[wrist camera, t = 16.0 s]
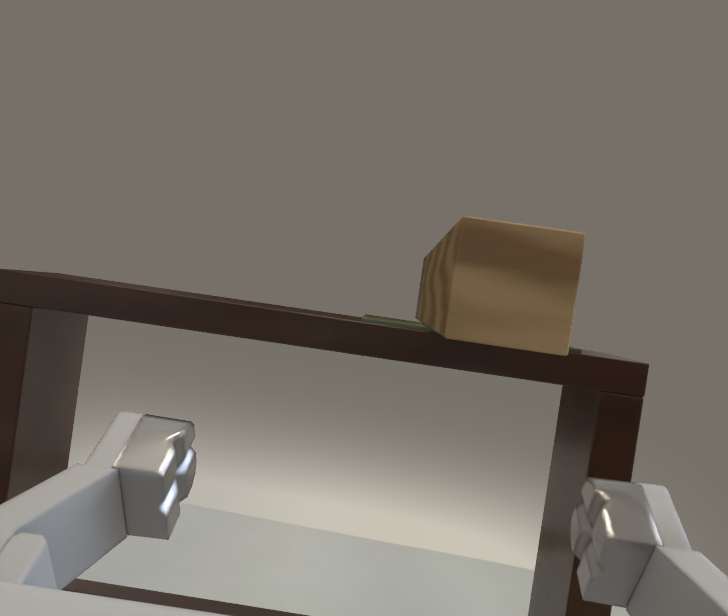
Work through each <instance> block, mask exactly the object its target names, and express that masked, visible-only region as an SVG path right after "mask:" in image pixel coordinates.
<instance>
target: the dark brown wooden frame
mask: <svg viewBox="0 0 728 616" xmlns="http://www.w3.org/2000/svg"><path fill="white" fill-rule="evenodd" d="M88 315H91V316H98V317H105V318H111V319H119V320H125V321H132V322H138V323H145V324H152V325H159V326H165V327H172V328H180V329H187V330H193V331H199V332H207V333H213V334H220V335H227V336H233V337H240V338H247V339H254V340H261V341H267V342H274V343H281V344H288V345H294V346H301V347H309V348H315V349H322V350H329V351H335V352H342V353H349V354H355V355H362V356H369V357H377V358H383V359H390V360H396V361H403V362H410V363H417V364H423V365H430V366H437V367H444V368H451V369H457V370H464V371H471V372H478V373H485V374H491V375H498V376H505V377H512V378H518V379H525V380H532V381H539V382H545V383H552V384H559V385H563V387H562V394H561V400H560V407H559V413H558V420H557V427H556V434H555V440H554V447H553V454H552V460H551V466H550V474H549V480H548V487H547V494H546V500H545V506H544V513H543V520H542V526H541V533H540V539H539V546H538V554H537V560H536V567H535V573H534V579H533V586H532V593H531V599H530V606H529V612H528V616H610V615H611V608H612V605H607V604H601V603H595V602H590V601H584V600H583V598H582V594H581V589H580V584H579V580H578V575H577V569H578V567H579V564H580V560H579V559H578V558H577V556H576V555H575V554H574V553H573V551H572V546H571V537H570V528H571V519H572V515H573V512H574V509H575V506H576V505H578V504H579V503H581V502H582V501H583V496H582V492H581V489H582V487H583V484H584V481H585V480H586V479H587V478H588V477H595V478H603V479H610V480H618V481H625V482H631V477H632V470H633V464H634V457H635V451H636V444H637V438H638V431H639V425H640V418H641V412H642V405H643V397H644V394H645V388H646V381H647V375H648V368H649V364H647V363H643V362H639V361H635V360H631V359H627V358H623V357H619V356H615V355H611V354H607V353H602V352H594V351H588V350H581V349H578V348H574V347H570V346H569V351H568V355H567V356H563V355H556V354H549V353H542V352H535V351H528V350H522V349H515V348H508V347H501V346H494V345H487V344H481V343H474V342H467V341H460V340H453V339H447V338H445V337H443V336H442V335H440V334H439V333H437V332H436V331H434V330H433V329H431V328H430V327H428V326H427V325H425V324H424V323H420V322H414V321H407V320H400V319H393V318H387V317H380V316H372V315H364V316H363V317H354V316H348V315H341V314H333V313H327V312H320V311H313V310H307V309H300V308H293V307H285V306H279V305H272V304H265V303H258V302H252V301H245V300H238V299H231V298H224V297H217V296H210V295H204V294H197V293H190V292H183V291H175V290H169V289H162V288H156V287H149V286H142V285H135V284H128V283H121V282H114V281H107V280H101V279H94V278H87V277H80V276H73V275H66V274H60V273H47V272H34V271H21V270H7V269H0V505H1V504H3V503H4V502H6V501H8V500H10V499H12V498H14V497H16V496H17V495H19V494H21V493H23V492H25V491H27V490H29V489H30V488H32V487H34V486H36V485H38V484H40V483H42V482H43V481H45V480H47V479H49V478H51V477H53V476H55V475H57V474H58V473H60V472H62V471H64V470H66V469H67V468H68V460H69V453H70V445H71V438H72V431H73V424H74V416H75V409H76V402H77V394H78V387H79V380H80V372H81V365H82V358H83V350H84V343H85V336H86V329H87V321H88ZM62 590H63V591H70V592H77V593H83V594H90V595H97V596H103V597H110V598H117V599H123V600H130V601H137V602H143V603H150V604H157V605H163V606H170V607H177V608H183V609H190V610H197V611H203V612H210V613H217V614H223V615H230V616H308V615H302V614H295V613H289V612H283V611H277V610H270V609H264V608H258V607H252V606H245V605H239V604H233V603H226V602H220V601H214V600H208V599H201V598H195V597H189V596H183V595H176V594H170V593H164V592H157V591H151V590H145V589H139V588H132V587H126V586H120V585H114V584H107V583H101V582H95V581H88V580H82V579H76V578H75V579H74V580H73V581H72V582H71V583H69V584H68V585H67V586H66V587H64V588H63V589H62Z"/></svg>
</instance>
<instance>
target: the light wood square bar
mask: <svg viewBox="0 0 728 616" xmlns="http://www.w3.org/2000/svg"><path fill="white" fill-rule="evenodd" d="M585 238H586V234H585V233H582V232H574V231H568V230H561V229H554V228H546V227H540V226H532V225H525V224H518V223H510V222H504V221H497V220H490V219H483V218H475V217H468V216H463V217H462V218H461V219H460V220H459V221H458V222H457V224H456V225H455V226H454V227H453V228H452V229H451V230H450V231H449V232H448V233H447V234H446V235H445V236H444V237H443V239H442V240H441V241H440V242H439V243H438V244H437V245H436V246H435V247H434V248H433V249H432V250H431V252H430V253H429V254H428V255H427V256H426V257H425V258H424V262H423V269H422V276H421V283H420V290H419V297H418V303H417V311H416V319H418V320H419V321H421V322H422V323H424V324H425V325H427V326H428V327H430V328H431V329H433V330H434V331H436V332H437V333H439V334H440V335H442V336H443V337H445V338H447V339H453V340H460V341H467V342H474V343H481V344H487V345H494V346H501V347H508V348H515V349H522V350H528V351H535V352H542V353H549V354H556V355H563V356H567V355H568V351H569V344H570V337H571V331H572V325H573V317H574V311H575V305H576V298H577V291H578V285H579V278H580V271H581V264H582V258H583V251H584V245H585Z"/></svg>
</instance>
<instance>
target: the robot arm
mask: <svg viewBox="0 0 728 616" xmlns="http://www.w3.org/2000/svg"><path fill="white" fill-rule="evenodd" d="M194 437H195V430H194V424H193V423H192V422H190V421H184V420H178V419H172V418H166V417H160V416H154V415H148V414H146V415H143V414H138V413H132V412H126V411H122V412H120V413H119V414H117V415H116V417H115V418H114V420H113V421H112V423H111V424H110V426H109V427H108V429H107V430H106V432H105V433H104V435H103V436H102V438H101V439H100V441H99V443H98V444H97V445H96V447H95V448H94V450H93V452H92V453H91V455H90V456H89V458H88V459H87V461H86V462H85V464H79V463H77V464H75V465H73V466H72V467H70V468H68V469H66V470H64V471H62V472H60V473H58V474H57V475H55V476H53V477H51V478H49V479H47V480H45V481H43V482H42V483H40V484H38V485H36V486H34V487H32V488H30V489H29V490H27V491H25V492H23V493H21V494H19V495H17V496H16V497H14V498H12V499H10V500H8V501H6V502H4V503H3V504H1V505H0V616H230V615H223V614H217V613H210V612H203V611H197V610H190V609H183V608H177V607H170V606H163V605H157V604H150V603H143V602H137V601H130V600H123V599H117V598H110V597H103V596H97V595H90V594H83V593H77V592H70V591H63V590H62V589H63V588H64V587H66V586H67V585H68V584H69V583H71V582H72V581H73V580H74V579H75V578H77V577H78V576H79V575H80V574H82V573H83V572H84V571H85V570H87V569H88V568H89V567H90V566H92V565H93V564H94V563H95V562H97V561H98V560H99V559H100V558H102V557H103V556H104V555H105V554H107V553H108V552H109V551H110V550H112V549H113V548H114V547H115V546H117V545H118V544H119V543H120V542H122V541H123V540H124V539H125V538H127V535H133V536H141V537H150V538H158V539H167V540H169V537H170V535H171V533H172V531H173V528H174V526H175V524H176V522H177V519H178V517H179V515H180V507H179V502H181V501H182V500H184V499H185V498H187V497H188V494H189V492H190V489H191V487H192V484H193V480H194V476H195V470H196V452H195V451H194V450H193V448H192V447H191V444H192V442H193V440H194ZM581 492H582V496H583V501H582V502H581V503H579V504H578V505H576V506H575V509H574V512H573V515H572V519H571V528H570V537H571V546H572V551H573V553H574V554H575V555H576V556H577V558H578V559H579V560H580V564H579V567H578V569H577V575H578V580H579V584H580V589H581V594H582V598H583V600H584V601H590V602H595V603H601V604H607V605H613V606H618V607H624V608H626V611H627V612H628V613H629V615H630V616H728V577H727V576H726V575H725V574H724V573H723V572H721V571H720V570H719V569H718V568H717V567H716V566H715V565H714V564H712V563H711V562H710V561H709V560H708V559H707V558H706V557H705V556H704V555H702V554H701V553H700V552H697V551H692V550H691V547H690V544H689V542H688V539H687V537H686V534H685V532H684V529H683V527H682V525H681V522H680V520H679V517H678V515H677V512H676V510H675V507H674V505H673V502H672V500H671V498H670V495H669V492H668V490H667V489H666V488H665V487H664V486H659V485H651V484H643V483H633V482H625V481H618V480H610V479H603V478H595V477H588V478H587V479H586V480H585V481H584V484H583V487H582V489H581Z"/></svg>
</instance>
